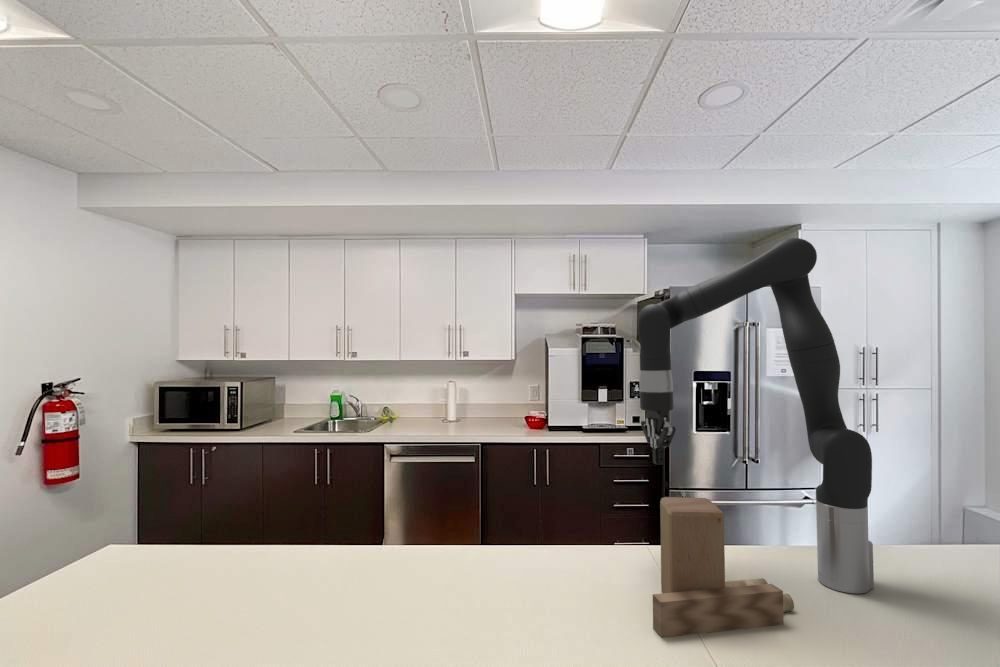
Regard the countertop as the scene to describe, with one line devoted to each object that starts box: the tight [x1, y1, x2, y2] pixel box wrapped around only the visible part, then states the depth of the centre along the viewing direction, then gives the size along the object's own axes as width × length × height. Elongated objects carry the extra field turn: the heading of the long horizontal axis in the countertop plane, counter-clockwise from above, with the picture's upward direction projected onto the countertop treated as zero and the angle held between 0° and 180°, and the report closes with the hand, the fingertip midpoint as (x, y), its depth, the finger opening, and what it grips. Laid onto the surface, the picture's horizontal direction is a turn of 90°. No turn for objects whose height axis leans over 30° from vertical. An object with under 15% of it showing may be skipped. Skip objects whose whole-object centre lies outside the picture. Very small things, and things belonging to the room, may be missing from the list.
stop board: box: [652, 583, 785, 638], centre depth 93 cm, size 24×3×6 cm, turn 100°
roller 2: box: [783, 593, 795, 613], centre depth 99 cm, size 10×3×3 cm, turn 100°
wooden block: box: [659, 496, 726, 594], centre depth 101 cm, size 10×10×20 cm
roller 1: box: [725, 578, 769, 588], centre depth 105 cm, size 10×3×3 cm
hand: (658, 463), depth 121 cm, fingers closed
